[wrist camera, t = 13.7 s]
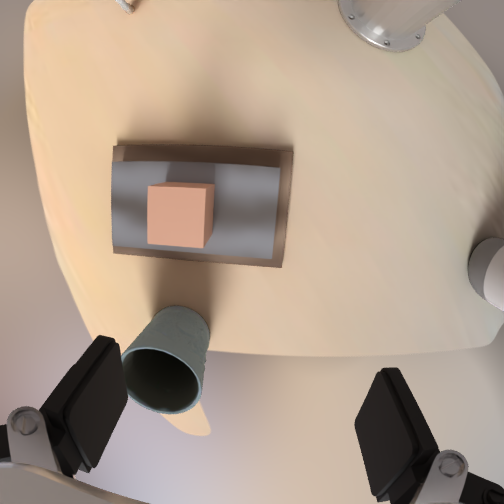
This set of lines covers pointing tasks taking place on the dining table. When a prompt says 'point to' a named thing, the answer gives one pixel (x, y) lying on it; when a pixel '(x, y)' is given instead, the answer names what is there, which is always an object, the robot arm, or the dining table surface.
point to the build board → (223, 157)
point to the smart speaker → (488, 271)
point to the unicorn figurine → (126, 6)
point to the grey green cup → (168, 361)
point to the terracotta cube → (180, 214)
